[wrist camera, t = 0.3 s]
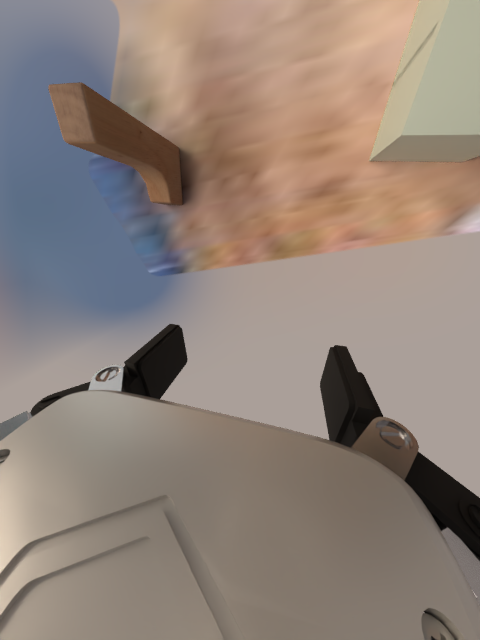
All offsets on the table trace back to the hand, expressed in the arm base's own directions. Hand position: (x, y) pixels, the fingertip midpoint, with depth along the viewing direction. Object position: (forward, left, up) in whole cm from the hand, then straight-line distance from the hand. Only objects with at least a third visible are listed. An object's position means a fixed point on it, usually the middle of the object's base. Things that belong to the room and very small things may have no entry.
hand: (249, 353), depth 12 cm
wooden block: (-14, -23, -31) cm, 41 cm away
